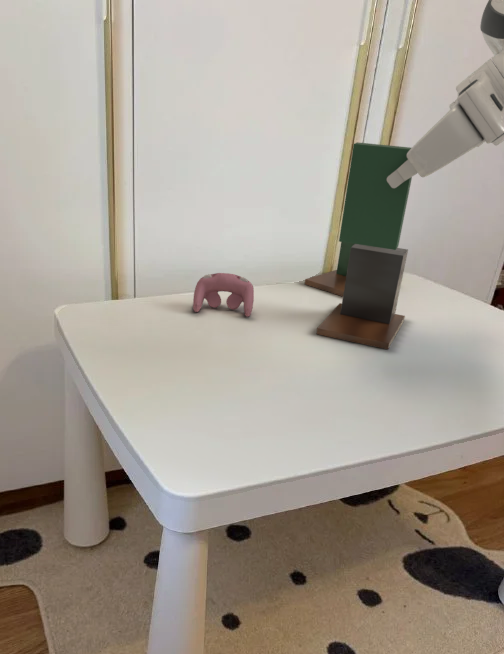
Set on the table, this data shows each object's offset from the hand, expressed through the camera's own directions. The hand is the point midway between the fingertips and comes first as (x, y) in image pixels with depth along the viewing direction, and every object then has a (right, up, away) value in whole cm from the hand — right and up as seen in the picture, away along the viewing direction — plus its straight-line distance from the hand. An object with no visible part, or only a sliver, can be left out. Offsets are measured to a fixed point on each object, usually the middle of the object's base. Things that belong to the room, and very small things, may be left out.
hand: (391, 181), depth 85 cm
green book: (-2, -7, +5) cm, 9 cm away
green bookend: (+2, -7, +35) cm, 36 cm away
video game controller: (-22, -15, +20) cm, 33 cm away
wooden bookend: (0, -18, +16) cm, 24 cm away
